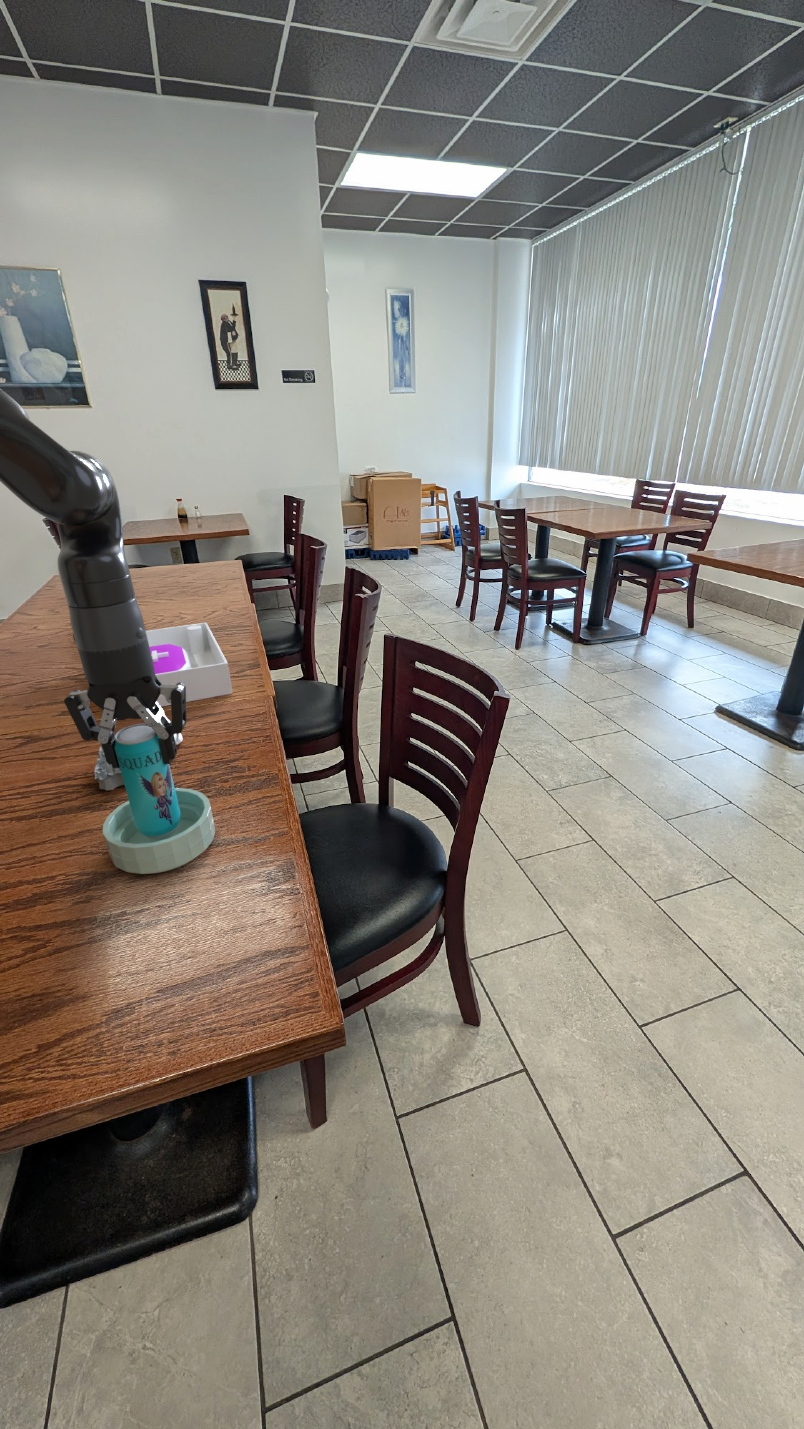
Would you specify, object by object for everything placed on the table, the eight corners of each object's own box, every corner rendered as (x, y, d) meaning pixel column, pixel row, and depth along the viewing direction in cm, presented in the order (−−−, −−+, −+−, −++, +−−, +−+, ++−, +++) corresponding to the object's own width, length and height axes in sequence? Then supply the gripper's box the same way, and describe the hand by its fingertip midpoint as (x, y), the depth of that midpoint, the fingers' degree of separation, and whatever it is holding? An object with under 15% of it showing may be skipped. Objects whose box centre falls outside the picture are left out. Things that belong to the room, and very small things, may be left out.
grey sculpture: (106, 762, 103) (100, 741, 101) (151, 755, 105) (146, 735, 103) (94, 794, 94) (87, 772, 92) (143, 786, 95) (138, 764, 93)
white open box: (211, 647, 158) (206, 621, 155) (233, 693, 129) (227, 662, 126) (121, 661, 150) (114, 634, 147) (123, 713, 121) (114, 680, 118)
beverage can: (158, 847, 77) (132, 746, 70) (129, 835, 79) (101, 736, 73) (192, 823, 81) (170, 727, 75) (163, 812, 84) (140, 718, 77)
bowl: (96, 883, 74) (86, 851, 72) (130, 820, 87) (122, 791, 85) (205, 873, 76) (198, 842, 73) (223, 812, 88) (218, 784, 86)
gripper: (182, 625, 72) (206, 745, 79) (61, 632, 71) (96, 753, 78) (167, 644, 65) (194, 773, 73) (32, 653, 64) (74, 783, 72)
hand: (143, 762), depth 75 cm, fingers closed on beverage can, 5 cm apart
